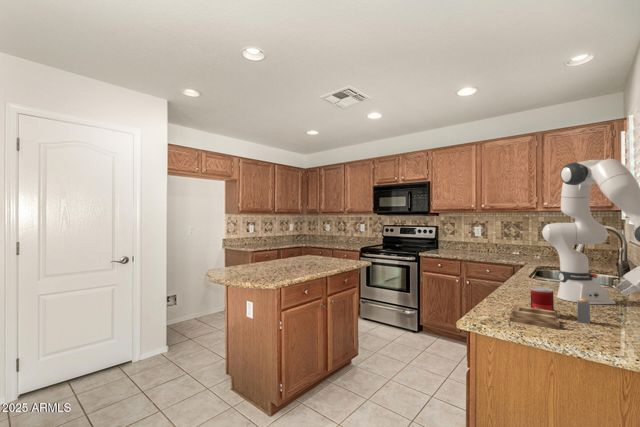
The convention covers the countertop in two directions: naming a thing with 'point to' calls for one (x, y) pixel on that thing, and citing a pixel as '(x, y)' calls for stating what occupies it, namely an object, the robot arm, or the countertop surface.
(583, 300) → the block with orange ball
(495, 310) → the countertop surface
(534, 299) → the canned food
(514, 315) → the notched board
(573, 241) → the robot arm
